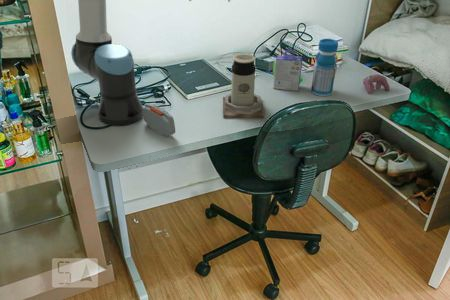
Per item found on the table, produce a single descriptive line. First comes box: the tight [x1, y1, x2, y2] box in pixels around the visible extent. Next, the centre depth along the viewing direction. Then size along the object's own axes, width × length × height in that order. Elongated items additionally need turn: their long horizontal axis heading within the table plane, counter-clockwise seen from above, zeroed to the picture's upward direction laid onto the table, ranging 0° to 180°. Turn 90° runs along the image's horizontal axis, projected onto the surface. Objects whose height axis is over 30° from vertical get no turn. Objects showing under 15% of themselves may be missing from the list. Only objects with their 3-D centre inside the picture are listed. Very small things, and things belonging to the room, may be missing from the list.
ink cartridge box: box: [273, 49, 303, 92], centre depth 170 cm, size 10×6×14 cm, turn 78°
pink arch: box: [362, 74, 391, 95], centre depth 172 cm, size 10×5×7 cm, turn 110°
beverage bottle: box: [310, 38, 339, 97], centre depth 165 cm, size 8×8×20 cm
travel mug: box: [230, 53, 256, 106], centre depth 153 cm, size 8×8×18 cm
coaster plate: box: [222, 93, 265, 119], centre depth 158 cm, size 14×14×4 cm
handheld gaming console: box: [142, 103, 176, 137], centre depth 142 cm, size 14×3×8 cm, turn 45°
